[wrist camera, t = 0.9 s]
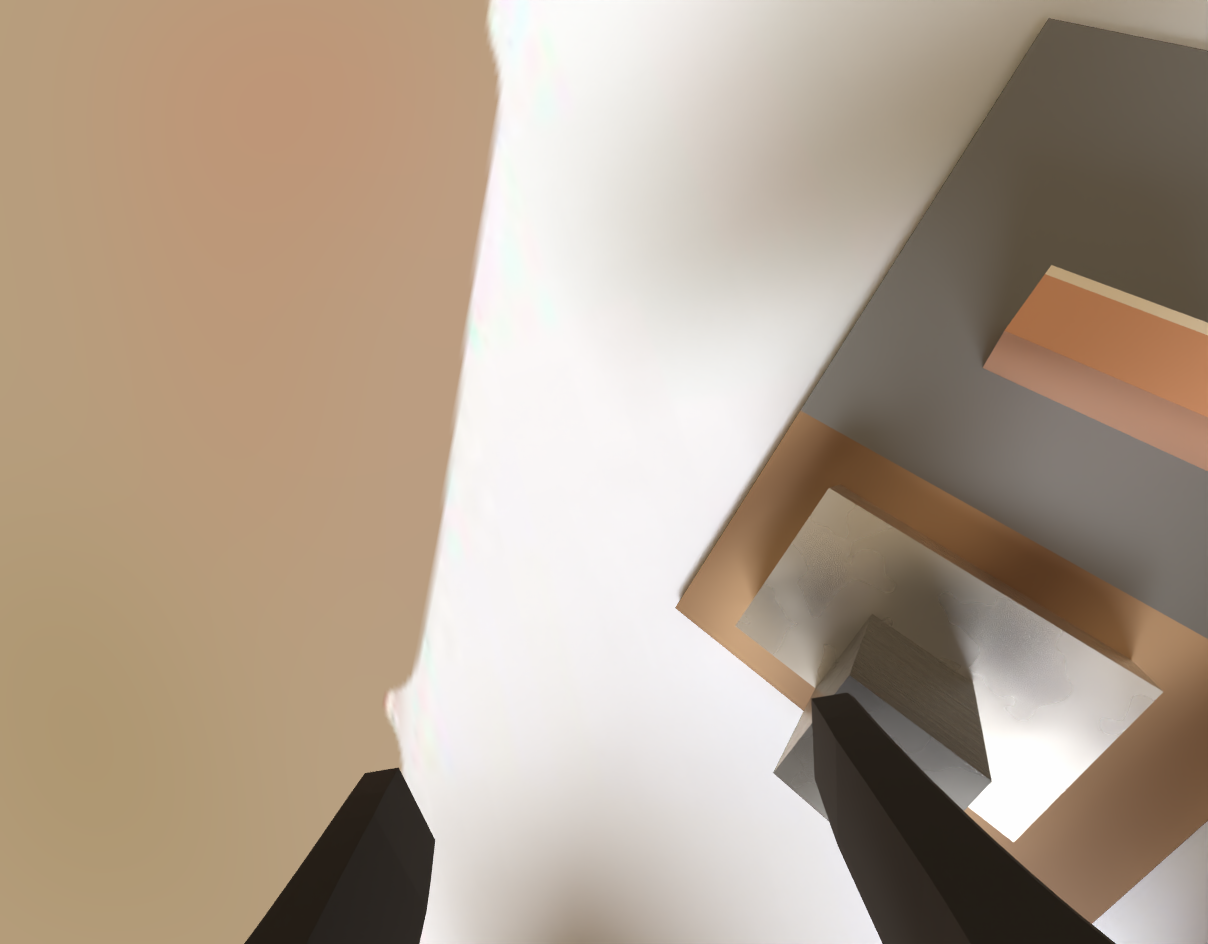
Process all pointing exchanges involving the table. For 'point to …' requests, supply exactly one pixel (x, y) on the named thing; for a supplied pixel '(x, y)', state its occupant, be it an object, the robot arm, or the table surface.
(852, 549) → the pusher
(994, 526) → the board
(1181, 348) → the tile
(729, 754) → the table surface
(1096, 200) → the rubber mat
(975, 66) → the table surface
